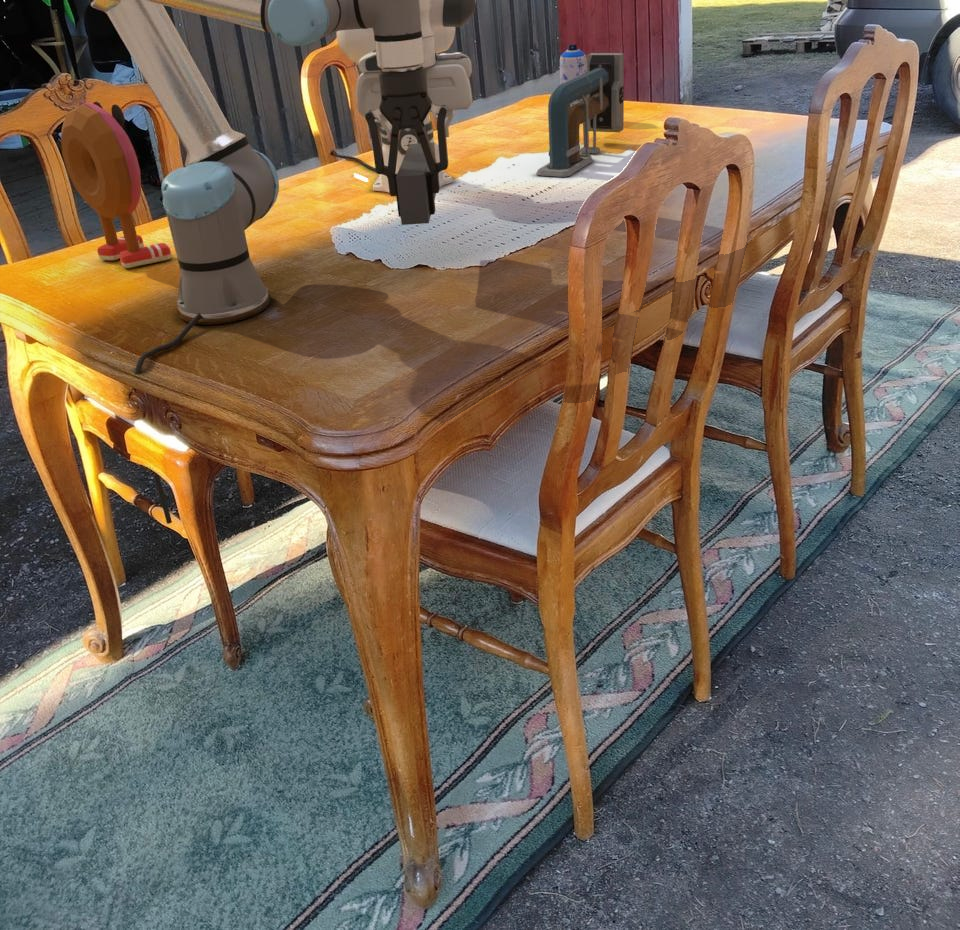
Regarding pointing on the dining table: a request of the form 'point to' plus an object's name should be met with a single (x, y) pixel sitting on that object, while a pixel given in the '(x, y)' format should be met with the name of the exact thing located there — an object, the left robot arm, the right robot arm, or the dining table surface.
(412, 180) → the bar
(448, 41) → the right robot arm
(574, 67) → the aerosol can
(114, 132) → the toy
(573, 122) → the clamp
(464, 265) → the dining table surface
